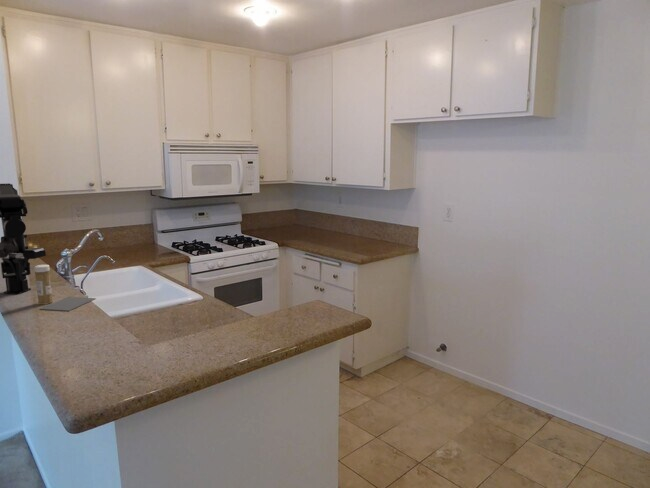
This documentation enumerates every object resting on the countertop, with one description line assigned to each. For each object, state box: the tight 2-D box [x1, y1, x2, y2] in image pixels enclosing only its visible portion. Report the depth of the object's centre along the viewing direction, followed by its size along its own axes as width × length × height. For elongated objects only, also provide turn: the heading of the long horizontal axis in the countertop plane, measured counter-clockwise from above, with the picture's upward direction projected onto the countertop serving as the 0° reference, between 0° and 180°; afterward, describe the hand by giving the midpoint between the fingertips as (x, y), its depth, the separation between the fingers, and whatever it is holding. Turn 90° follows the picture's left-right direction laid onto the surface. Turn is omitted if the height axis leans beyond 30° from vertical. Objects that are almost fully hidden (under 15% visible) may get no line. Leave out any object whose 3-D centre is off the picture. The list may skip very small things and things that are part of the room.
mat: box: [39, 296, 97, 312], centre depth 162 cm, size 11×14×1 cm
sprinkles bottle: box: [33, 264, 54, 305], centre depth 162 cm, size 5×5×14 cm
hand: (19, 276), depth 163 cm, fingers closed
